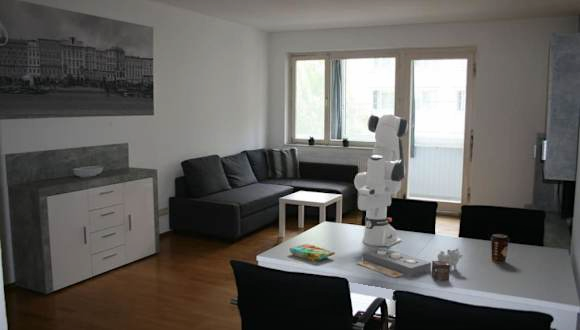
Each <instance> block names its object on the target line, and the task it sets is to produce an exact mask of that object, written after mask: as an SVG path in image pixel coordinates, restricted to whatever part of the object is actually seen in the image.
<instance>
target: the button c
mask: <svg viewBox="0 0 580 330" xmlns="http://www.w3.org/2000/svg"><path fill="white" fill-rule="evenodd" d="M406 263H409V264H415V263H416V261H414V260H406Z"/></svg>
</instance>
